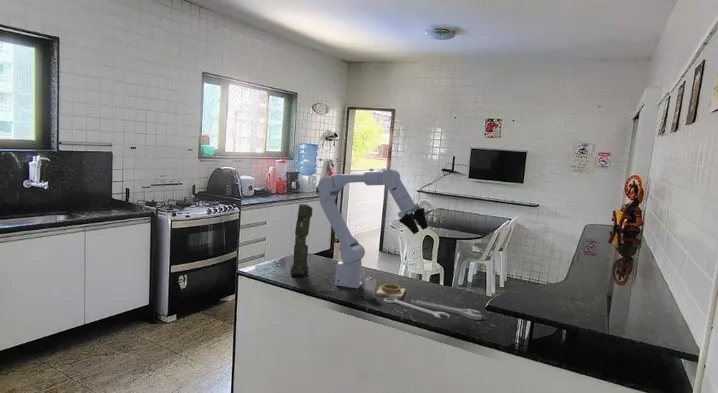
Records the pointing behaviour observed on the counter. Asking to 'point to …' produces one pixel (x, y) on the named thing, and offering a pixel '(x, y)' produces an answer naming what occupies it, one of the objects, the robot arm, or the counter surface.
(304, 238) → the mechanical leg
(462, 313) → the adjustable wrench
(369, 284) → the clear glass cylinder
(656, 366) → the counter surface
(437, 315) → the wrench
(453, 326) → the counter surface
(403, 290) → the socket
